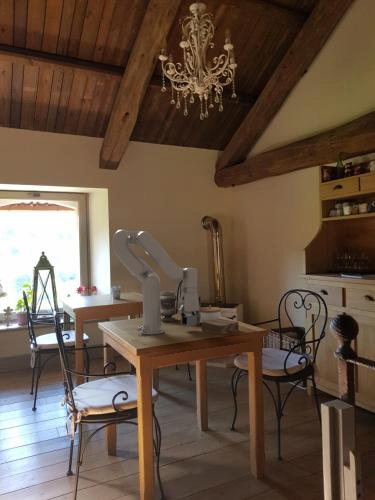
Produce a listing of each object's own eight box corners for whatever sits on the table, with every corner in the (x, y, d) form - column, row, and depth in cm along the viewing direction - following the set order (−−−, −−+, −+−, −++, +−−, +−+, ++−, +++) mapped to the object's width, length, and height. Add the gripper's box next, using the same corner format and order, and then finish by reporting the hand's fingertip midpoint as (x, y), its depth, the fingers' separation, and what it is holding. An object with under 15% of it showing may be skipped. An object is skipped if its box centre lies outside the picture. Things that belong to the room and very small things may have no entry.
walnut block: (220, 335, 199) (220, 326, 199) (201, 331, 209) (201, 322, 209) (238, 331, 208) (238, 322, 208) (219, 327, 219) (219, 318, 219)
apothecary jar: (162, 318, 250) (162, 290, 250) (180, 318, 246) (179, 290, 246) (155, 321, 238) (154, 292, 238) (173, 322, 235) (173, 292, 235)
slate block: (188, 326, 206) (188, 316, 206) (180, 324, 210) (181, 315, 210) (196, 324, 210) (196, 315, 210) (188, 322, 214) (189, 314, 214)
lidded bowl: (206, 327, 218) (206, 307, 218) (195, 323, 229) (195, 305, 229) (225, 324, 224) (224, 305, 224) (213, 321, 235) (213, 303, 235)
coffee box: (184, 324, 228) (185, 296, 227) (185, 321, 234) (185, 295, 234) (200, 324, 227) (200, 297, 227) (200, 322, 234) (200, 295, 233)
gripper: (183, 292, 201) (181, 326, 201) (205, 290, 213) (204, 322, 214) (173, 290, 207) (172, 324, 207) (195, 289, 219) (194, 320, 219)
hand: (188, 323), depth 210 cm, fingers closed on slate block, 6 cm apart
